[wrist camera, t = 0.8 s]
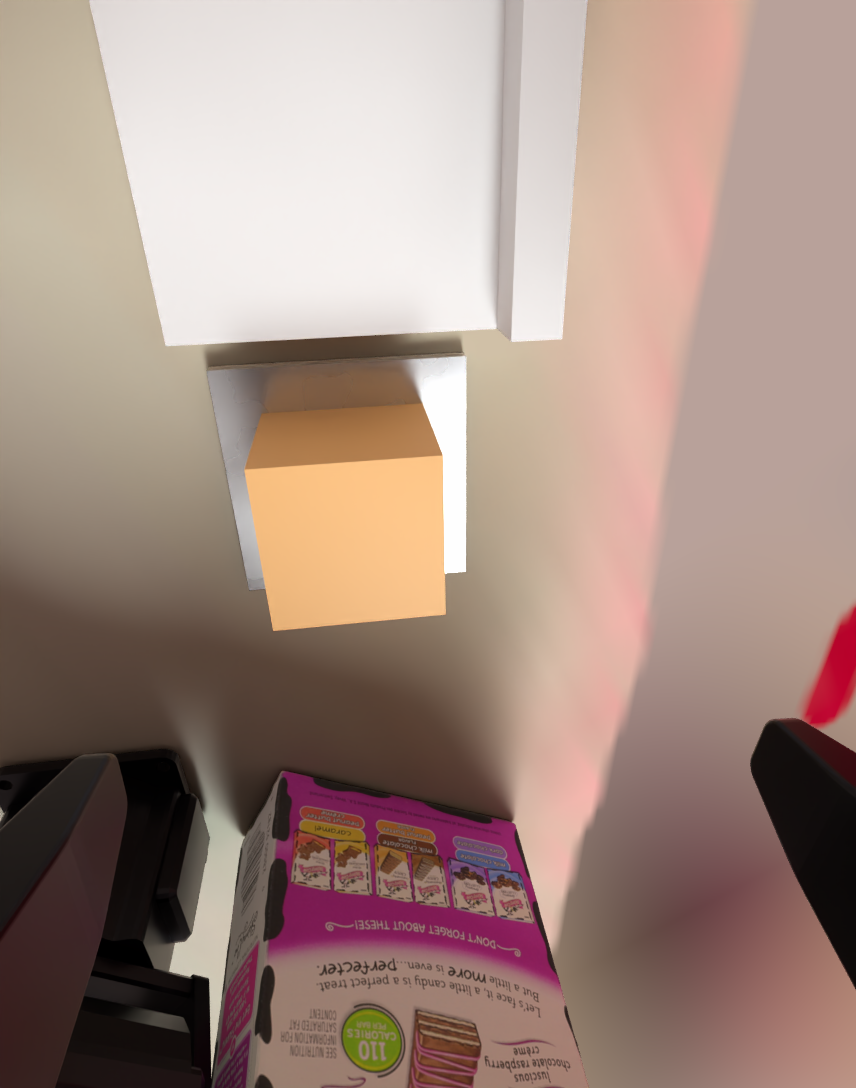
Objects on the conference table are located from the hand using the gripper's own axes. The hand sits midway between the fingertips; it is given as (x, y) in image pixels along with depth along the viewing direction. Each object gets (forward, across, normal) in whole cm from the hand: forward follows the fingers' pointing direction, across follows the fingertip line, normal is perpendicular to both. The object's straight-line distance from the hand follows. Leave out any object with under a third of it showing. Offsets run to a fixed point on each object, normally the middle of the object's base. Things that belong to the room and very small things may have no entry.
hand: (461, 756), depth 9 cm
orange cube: (+12, +1, +1) cm, 12 cm away
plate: (+12, +1, +1) cm, 12 cm away
